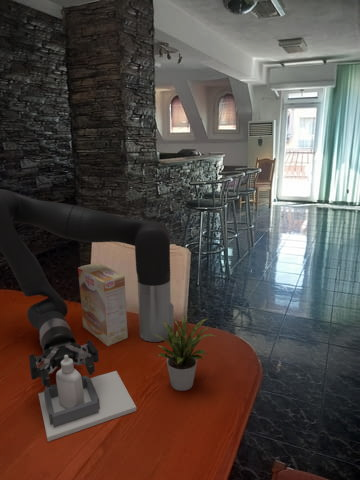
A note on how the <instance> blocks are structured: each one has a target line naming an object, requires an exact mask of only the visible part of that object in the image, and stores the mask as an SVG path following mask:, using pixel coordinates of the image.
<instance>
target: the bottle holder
mask: <svg viewBox="0 0 360 480" xmlns="http://www.w3.org/2000/svg"><path fill="white" fill-rule="evenodd" d="M81 378H82V385H83V394H84V404H81V405H78V406H75V407H72V408H68V409H66V408H64V407H63V406H62V405H61V404H60V403H59V397H58V389H57V383H55V384H52V385H51V384H50V385H51V387H48V388H47V386H45V389H44V390H43V392H38V399H39V404H40V411H41V414H42V419H43V424H44V430H45V434H46V440H47V442H51V441H54V440H56V439H60V438H62V437H66V436H69V435H71V434H74V433H78V432H79V431H83V430H85V429H88V428H91V427H94V426H98V425H100V424H102V423H105V422H108V421H111V420H114V419H117V418H119V417H123V416H125V415H129V414H131V413H134V412H136V411H137V406H136V404H135V402H134V400H133V398H132V397H131V395H130V393H129V392H128V390H127V388H126V386H125V384H124V382H123V381H122V379H121V376H120V375H119V373H118V371H117V370H115V371H111V372H107V373H103V374H99V375H96V376H93V377H88V375H83V376H81Z"/></svg>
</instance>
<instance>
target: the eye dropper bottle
mask: <svg viewBox="0 0 360 480" xmlns="http://www.w3.org/2000/svg"><path fill="white" fill-rule="evenodd" d="M74 365H75V364H74V363H73V360H72V359H71V358H69V357H68V355H65V356H64V359H63V360H62V361H61V367H60V368H59V370H57V372H56V374H55V379H56V380H55V381H56V384H57V389H58V397H59V403H60V404H61V405H62V406H63V407H64V408H66V409H68V408H72V407H75V406H78V405H81V404H84V394H83V385H82V378H81V377H82V375H81V373H80V372H79V371H78V370H77V369H76V368H74Z"/></svg>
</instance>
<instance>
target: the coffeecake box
mask: <svg viewBox="0 0 360 480" xmlns="http://www.w3.org/2000/svg"><path fill="white" fill-rule="evenodd" d="M77 272H78V282H79V294H80V303H81V304H80V305H81V306H80V307H81V314H82V327H83V328H84V329H85V330H87V331H88V332H89V333H91V334H92V335H93V336H95V338H97V339H98V340H99V341H100V342H102V343H103V344H104V345H106V346H107V347H110V346H112V345H114V344H116V343H119V342H121V341H124V340H126V339H128V338H129V337H128V321H127V319H128V318H127V317H128V316H127V301H126V300H127V298H126V281H125V279H126V278H125V275H123V274H121V273H120V272H118V271H116V270H114V269H112V268H110V267H108V266H105V265H104V264H103V263H101V262H96V263H95V262H94V263H91V264H85V265H81V266H78V267H77Z"/></svg>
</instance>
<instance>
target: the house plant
mask: <svg viewBox="0 0 360 480" xmlns="http://www.w3.org/2000/svg"><path fill="white" fill-rule="evenodd" d="M173 320H174V323H175V325H176V327H177V329H178V330H176V332H175V331H173V329H172V328H171V324H170V326H169V325H168V324H167V323H166V322H165V321H163V320H162V321H163V322H164V324H165V326H166V328H167V330H168V338H167V339H164V338H163V337H161V336H159V335H155V336H158V337H160V338H162V339H163V341H165V342H166V343H167V344H168V345H169V346H170V347H171V349H172V350H170V349H168V348H167V347H165V346H163V345H158V344H157V346H158V347H159V348H161V350H163V351H164V352H161V353H159V354H157V355H156V357H162V358H166V367H167V370H168V376H169V380H170V385H171V387H172V388H173V389H174V390H176V391H181V392H182V391H184V392H185V391H188V390H190V389H191V388H192V387H193V385H194V380H195V375H196V369H197V364H198V359H199V360H204V358H203V357H202V355H203V356H205V357H207V354H206V351H205V350H204V349H202V348H201V349H197V350H195V351H194V349H195V348H196V346H197V345H198V343H200V341H201V340H202V339H203V338H206V337H216V335H215V334H210V333H209V334H204V332H205V331H207V330H208V329H209V327H206V328H204V329H202V330H200V332H199V333H198V334H197V335H196V337H194V335H195V334H196V333H197V330H198V329H199V328H200V326H202V324H203V323H204V322H205V321H207V320H209V317H208V318H204V319H201V320H199V322H197V324H195V325H194V327H193V328H192V329H191V331H190V333H189V335H188V325H187V324H188V323H187V321H186V317H185V315H184V314H183V313H182V315H181V326H182V327H181V326H180V324H179V322H177V321H176V320H175V319H173ZM202 334H203V335H202ZM187 335H188V336H187ZM165 352H166V353H165Z"/></svg>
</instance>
